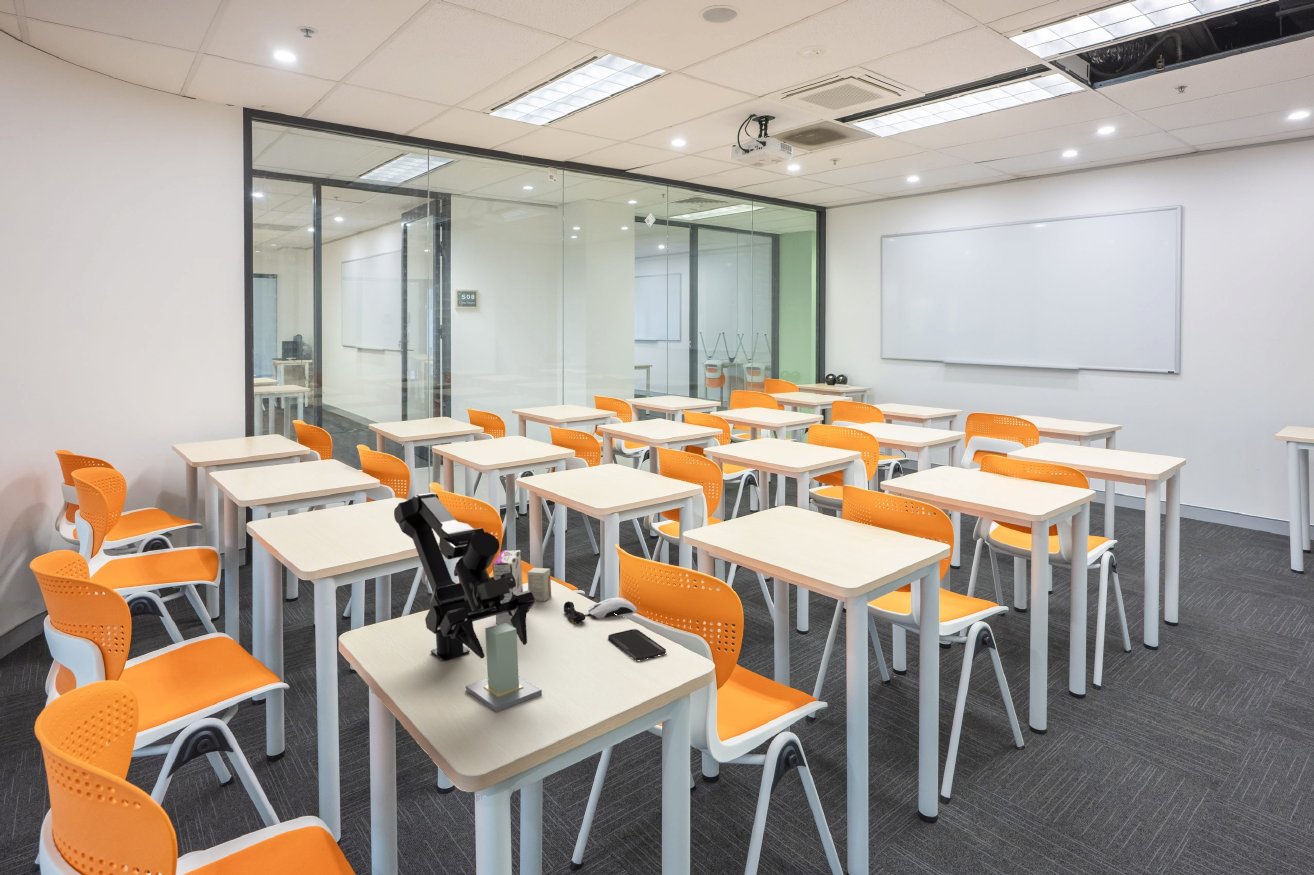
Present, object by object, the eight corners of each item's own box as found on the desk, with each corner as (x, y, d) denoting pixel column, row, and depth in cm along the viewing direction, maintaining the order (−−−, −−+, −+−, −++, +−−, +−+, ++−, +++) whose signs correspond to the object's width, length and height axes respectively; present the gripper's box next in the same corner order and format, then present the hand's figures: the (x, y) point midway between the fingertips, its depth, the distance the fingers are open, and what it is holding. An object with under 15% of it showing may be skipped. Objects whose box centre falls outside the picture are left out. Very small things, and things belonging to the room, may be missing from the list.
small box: (552, 596, 199) (550, 568, 198) (545, 601, 195) (544, 573, 194) (535, 594, 200) (533, 567, 199) (528, 600, 196) (526, 571, 195)
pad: (465, 690, 145) (465, 684, 145) (510, 674, 152) (509, 669, 152) (496, 712, 136) (496, 706, 136) (541, 694, 143) (541, 688, 143)
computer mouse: (641, 616, 184) (641, 601, 183) (571, 627, 178) (570, 611, 177) (630, 603, 193) (629, 589, 192) (562, 613, 187) (561, 598, 186)
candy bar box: (505, 611, 188) (502, 549, 186) (524, 611, 188) (521, 549, 186) (494, 628, 177) (491, 563, 175) (515, 628, 177) (512, 562, 175)
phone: (635, 628, 173) (667, 650, 160) (636, 632, 173) (667, 655, 160) (606, 635, 169) (636, 658, 156) (606, 640, 170) (636, 663, 157)
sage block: (488, 686, 144) (485, 628, 143) (508, 679, 147) (505, 622, 145) (498, 694, 141) (495, 634, 139) (519, 687, 143) (516, 628, 142)
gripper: (442, 571, 138) (471, 645, 131) (529, 552, 150) (560, 618, 143) (428, 600, 145) (455, 672, 138) (512, 580, 157) (541, 644, 150)
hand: (504, 650), depth 142 cm, fingers open, 9 cm apart
